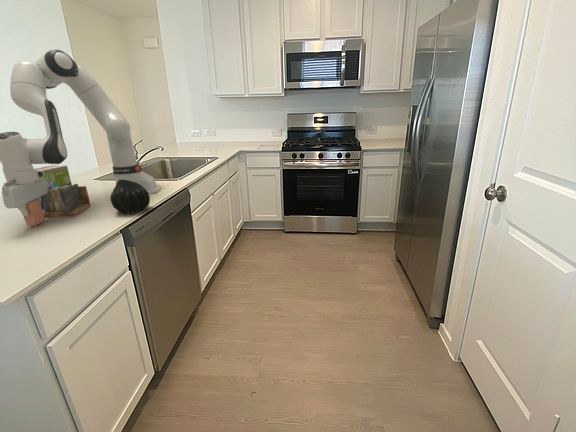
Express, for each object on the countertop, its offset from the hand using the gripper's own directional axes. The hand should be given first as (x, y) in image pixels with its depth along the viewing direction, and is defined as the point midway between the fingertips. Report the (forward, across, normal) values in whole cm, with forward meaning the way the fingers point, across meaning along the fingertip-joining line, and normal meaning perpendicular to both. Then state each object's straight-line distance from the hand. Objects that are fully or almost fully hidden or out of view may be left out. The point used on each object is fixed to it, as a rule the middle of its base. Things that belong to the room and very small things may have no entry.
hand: (32, 211), depth 122 cm
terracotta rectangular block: (+5, 0, 0) cm, 5 cm away
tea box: (+6, +45, +17) cm, 48 cm away
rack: (+6, +15, -1) cm, 16 cm away
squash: (+6, +11, -33) cm, 35 cm away
